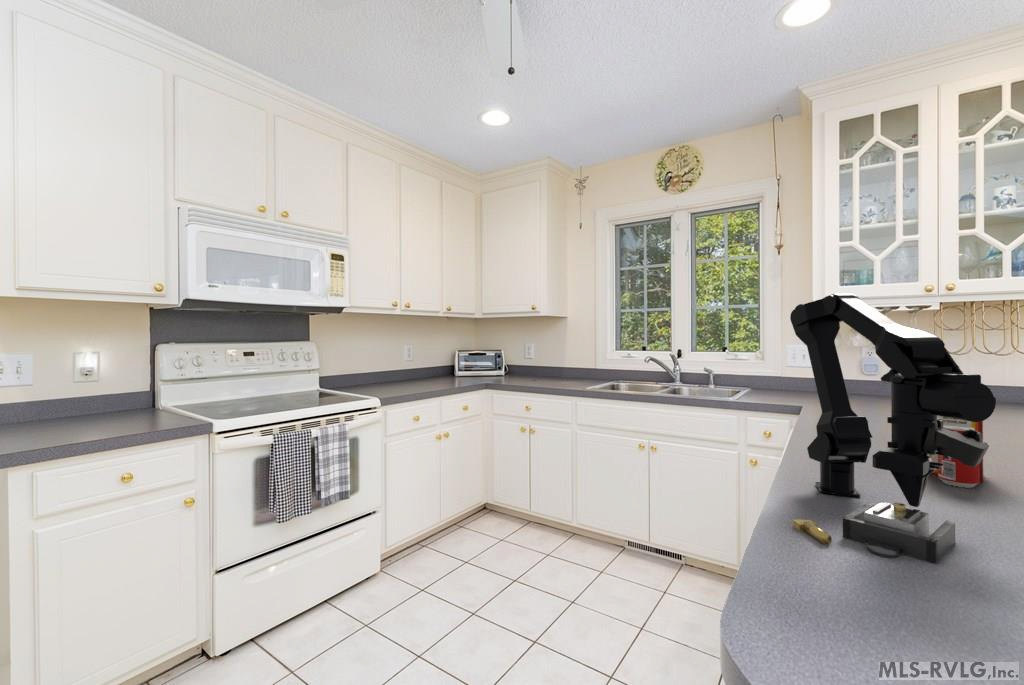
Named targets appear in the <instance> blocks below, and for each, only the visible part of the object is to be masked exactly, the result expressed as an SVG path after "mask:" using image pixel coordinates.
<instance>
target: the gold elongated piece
mask: <svg viewBox="0 0 1024 685" xmlns="http://www.w3.org/2000/svg"><path fill="white" fill-rule="evenodd" d="M792 527H793V528H794V529H796V531H798V532H800V533H801V532H802V533H805V532H806V533H808V534H809V535H811V536H812V537H814V538H815V539H816V540H817V541H819V542H820V543H822V544H823V545H825V546H826V545H827V546H828V545H830V544H831V543H832V541H833V540H832V539H833V538H832V536H831V535H830V534H828V533H827V532H825V531H824V530H822V529H821V528H819V527H818V523H816V522H815V521H813V520H811V519H792Z"/></svg>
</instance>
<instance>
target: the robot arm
mask: <svg viewBox="0 0 1024 685" xmlns="http://www.w3.org/2000/svg"><path fill="white" fill-rule="evenodd" d="M790 322H791V325H792V329H793V331H794V334H795V336H796V337H797V338H798V339H799V340H800V341H801V342H802V343H803V344H804V345H805V346H806V348H807V352H808V357H809V360H810V365H811V369H812V370H811V371H812V373H813V374H812V375H813V377H814V383H815V388H816V392H817V396H818V400H819V404H820V409H821V414H820V417H819V419H818V422H817V424H816V437H815V438H814V439H813V440H812V442H811V443H810V444H809V445H808V446H807V448H806V450H807V454H808V457H809V458H810V459H811V460H813V461H816V462H819V481H815V486H816V487H817V488H818V490H819V492H820V493H822V494H827V495H828V494H829V495H837V496H838V495H839V496H847V497H858V498H859V497H860V498H861V493H860V491H859V490H858V489H857V488H856V487H855V463H862V464H863V463H864V464H866V462H867V461H868V460H867V459H868V456H869V454H870V450H871V448H872V438H873V435H872V433H871V432H870V427H869V421H868V419H867V417H866V416H863V415H862V416H859V415H858V414H857V413H856V412H855V411H854V410H853V409H852V407H851V402H850V399H849V395H848V390H847V386H846V383H845V378H844V375H843V370H842V367H841V362H840V359H839V355H838V350H837V347H836V341H835V340H836V338H837V336H838V334H839V331H840V329H841V325H840V324H841V322H843V323H845V324H846V325H848V326H849V327H850V328H852V330H854V331H855V332H857V333H858V334H860V335H861V336H862V337H864V338H865V339H867V340H868V341H869V342H871V343H872V344H873V346H874V349H875V350H874V351H875V355H876V356H878V358H879V359H880V360H881V361H882V362H883V363H884V364H885V366H887V367H888V368H889V369H890V370H889V371H888V372H887V373H884V374H883V375H882V376H881V377H880V382H885V383H891V384H890V385H891V386H890V390H891V392H890V394H891V395H890V400H891V401H890V402H891V405H890V408H891V411H890V413H891V415H888V416H886V417H887V418H886V420H887V424H891V426H890V427H891V439H890V440H888V441H887V447H885V448H882V449H880V450H878V451H877V452H875V453H874V454H872V467H873V469H874V468H875V469H878V470H883V471H890V473H891V475H892V477H893V478H894V479H895V481H896V483H897V485H898V487H899V489H900V490H901V493H902V494H903V496H904V498H905V499H906V501H907V503H908V505H909V506H910V507H915V508H919V507H920V505H921V502H922V499H923V496H924V493H925V489H926V485H927V483H928V480H929V478H930V476H931V475H930V474H931V473H933V472H934V471H936V470H937V469H939V468H940V467H942V466H943V464H941V463H935V462H932V458H931V457H930V455H935V454H938V455H943V456H944V458H945V459H950V458H951V457H952V458H954V459H956V460H959V461H961V463H963V464H965V465H968V466H971V467H976V466H977V465H978V464H980V462H981V460H982V458H983V459H984V457H985V454H987V452H988V450H989V449H988V448H989V447H990V445H988V442H985V441H984V440H983V441H982V435H981V433H980V432H978V431H975V430H972V429H968V430H966V431H964V432H963V433H961V434H959V433H958V432H956V431H954V432H953V431H950V430H947V429H945V428H943V420H941V418H937V416H943V417H948V418H954V419H960V420H966V421H971V422H981V421H983V422H984V421H985V420H987V419H989V418H990V417H991V416H992V415H993V413H994V411H995V409H996V405H997V404H996V403H997V399H996V397H995V396H994V393H993V392H992V390H991V389H990V388H989V386H987V385H985V384H984V383H982V376H981V375H980V374H976V373H974V374H973V373H970V374H969V373H968V374H967V373H964V372H963V370H961V368H960V366H959V365H958V364H957V362H956V360H954V359H953V357H952V355H951V354H950V353H949V351H948V350H947V348H946V347H945V345H946V344H945V342H944V341H943V340H942V339H941V338H940V336H936V335H934V334H931V333H929V332H926V331H923V330H921V329H918V328H917V329H916V328H911V327H908V326H903V325H901V324H899V323H897V322H895V321H894V320H893V319H891V318H889V317H888V316H886V315H884V314H882V313H881V312H880V311H878V310H877V309H875V308H874V307H872V306H870V305H868V304H867V303H865V302H864V301H863V300H861V299H860V297H859V296H858V295H855V294H853V293H832V294H830V295H826V296H825V297H823V298H820V299H817V300H816V299H815V300H813V301H810V302H806V303H800V304H797V305H796V307H794V309H792V310H791V312H790Z"/></svg>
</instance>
